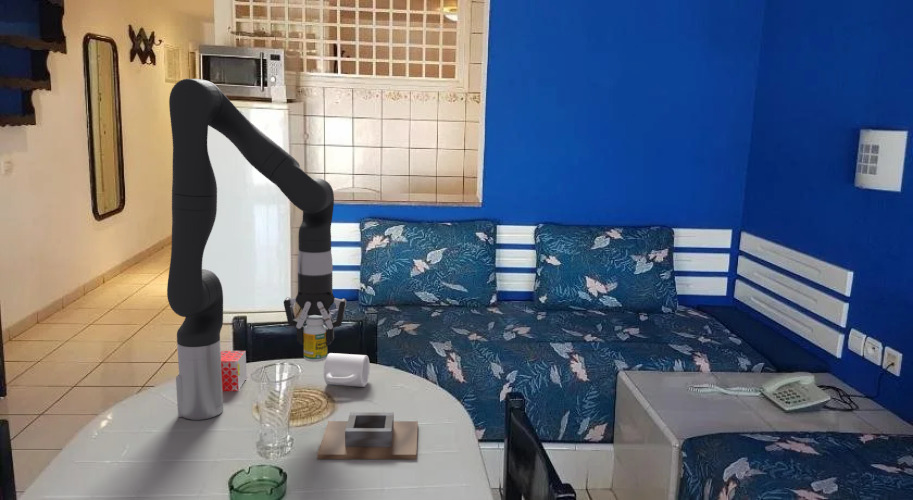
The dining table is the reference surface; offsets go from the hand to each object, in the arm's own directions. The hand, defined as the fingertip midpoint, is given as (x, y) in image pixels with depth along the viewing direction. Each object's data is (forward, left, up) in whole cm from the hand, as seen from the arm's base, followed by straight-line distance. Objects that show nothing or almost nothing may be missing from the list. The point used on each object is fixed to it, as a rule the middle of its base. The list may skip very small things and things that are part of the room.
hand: (315, 343), depth 162 cm
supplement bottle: (0, 0, -4) cm, 4 cm away
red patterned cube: (-26, +20, -18) cm, 37 cm away
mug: (+4, +19, -18) cm, 27 cm away
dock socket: (+13, -12, -18) cm, 25 cm away
